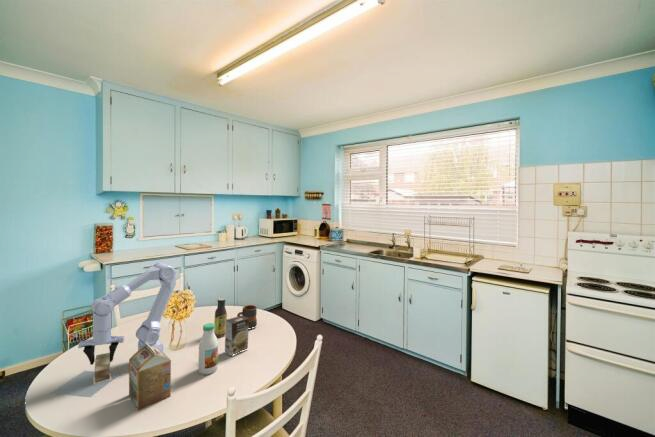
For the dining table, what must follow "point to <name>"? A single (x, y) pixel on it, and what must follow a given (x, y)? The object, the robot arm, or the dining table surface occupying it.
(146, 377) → the milk carton
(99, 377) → the walnut block
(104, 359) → the birch block
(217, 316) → the sauce bottle
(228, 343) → the coffee box
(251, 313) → the mug
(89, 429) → the dining table surface
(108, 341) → the robot arm
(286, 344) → the dining table surface
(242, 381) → the dining table surface
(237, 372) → the dining table surface
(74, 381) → the light blue flat plate
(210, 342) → the milk bottle
